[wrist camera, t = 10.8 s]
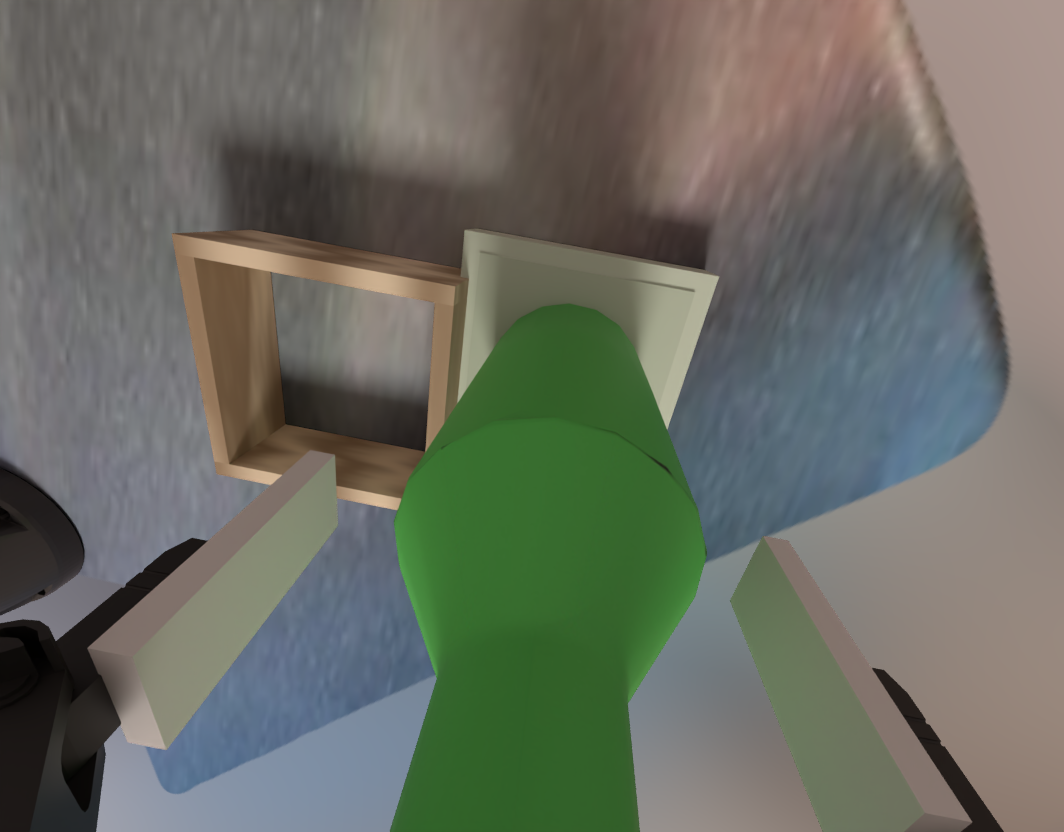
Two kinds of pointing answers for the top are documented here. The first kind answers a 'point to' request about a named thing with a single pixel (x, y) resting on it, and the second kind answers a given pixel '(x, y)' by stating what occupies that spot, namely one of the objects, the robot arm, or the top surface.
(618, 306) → the stand block
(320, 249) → the open square wooden frame
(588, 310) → the bottle
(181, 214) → the top surface
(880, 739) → the robot arm
